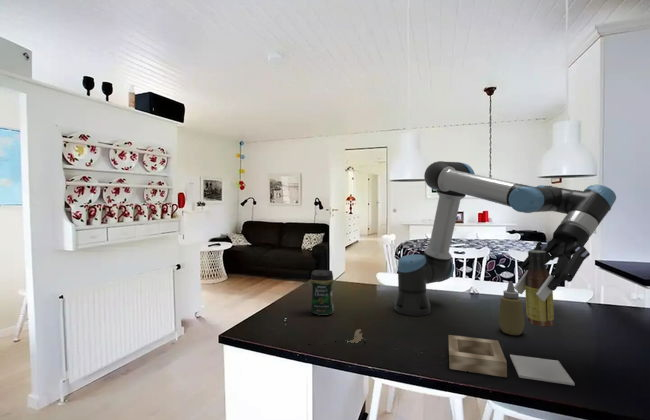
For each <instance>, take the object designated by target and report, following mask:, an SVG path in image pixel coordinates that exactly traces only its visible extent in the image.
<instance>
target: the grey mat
mask: <svg viewBox="0 0 650 420" xmlns="http://www.w3.org/2000/svg"><path fill="white" fill-rule="evenodd" d="M509 357H510V360H511V362H512V364H513V367H514V368H515V372H516V374H517V375H518V378H521V379H528V380H534V381H541V382H546V383H547V382H548V383H555V384H560V385H561V384H562V385H567V386H568V385H569V386H575V381H574V380H573V379H572V378H571V376H570V374H568V372H567V370H566V369H565V368H564V367H563V365H562V364H561V362H560V361H559V360H557V359H555V360H554V359H548V358H541V357H533V356H524V355H515V354H509Z"/></svg>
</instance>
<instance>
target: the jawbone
mask: <svg viewBox="0 0 650 420" xmlns="http://www.w3.org/2000/svg"><path fill="white" fill-rule="evenodd" d="M362 335H363V332H362V329H360V328H359V329H356V330H355V332H354V334H353V338H354V339H353V338H352V339H353V340H352V339H351V340H350V341H348V340H347V343H348V342H351V343H354V342H355V343H358V342H359V341H361V339H364V338H363V337H362Z"/></svg>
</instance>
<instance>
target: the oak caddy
mask: <svg viewBox="0 0 650 420" xmlns="http://www.w3.org/2000/svg"><path fill="white" fill-rule="evenodd" d="M448 361H449V362H448V363H449V364H448V365H449V369H450V370H454V371H461V372H467V371H468V372H469V373H475V374H481V375H487V376H488V375H489V376H494V377H501V378H508V368H507V367H508V364H507V363H508V362H507V359H506V357H505V355H504V352H503V349H502V347H501V345H500V342H499V339H498V340H496V339H486V338H479V337H478V338H477V337H470V336H463V335H455V334H454V335H453V334H452V335H451V334H448Z"/></svg>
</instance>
